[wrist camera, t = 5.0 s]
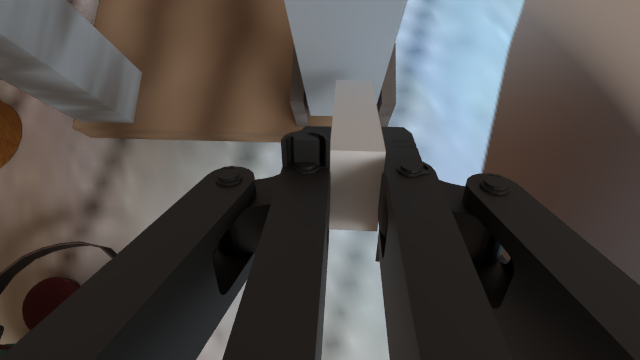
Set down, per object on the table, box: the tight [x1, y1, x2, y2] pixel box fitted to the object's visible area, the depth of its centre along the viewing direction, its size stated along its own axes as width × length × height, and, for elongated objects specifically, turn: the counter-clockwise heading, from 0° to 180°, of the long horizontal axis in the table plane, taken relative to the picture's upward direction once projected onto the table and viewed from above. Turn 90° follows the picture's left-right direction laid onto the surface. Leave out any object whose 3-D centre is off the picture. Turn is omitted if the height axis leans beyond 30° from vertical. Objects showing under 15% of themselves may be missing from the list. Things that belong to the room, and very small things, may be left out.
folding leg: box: [284, 0, 407, 116], centre depth 16 cm, size 4×4×14 cm
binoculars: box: [0, 242, 117, 357], centre depth 20 cm, size 9×11×10 cm
